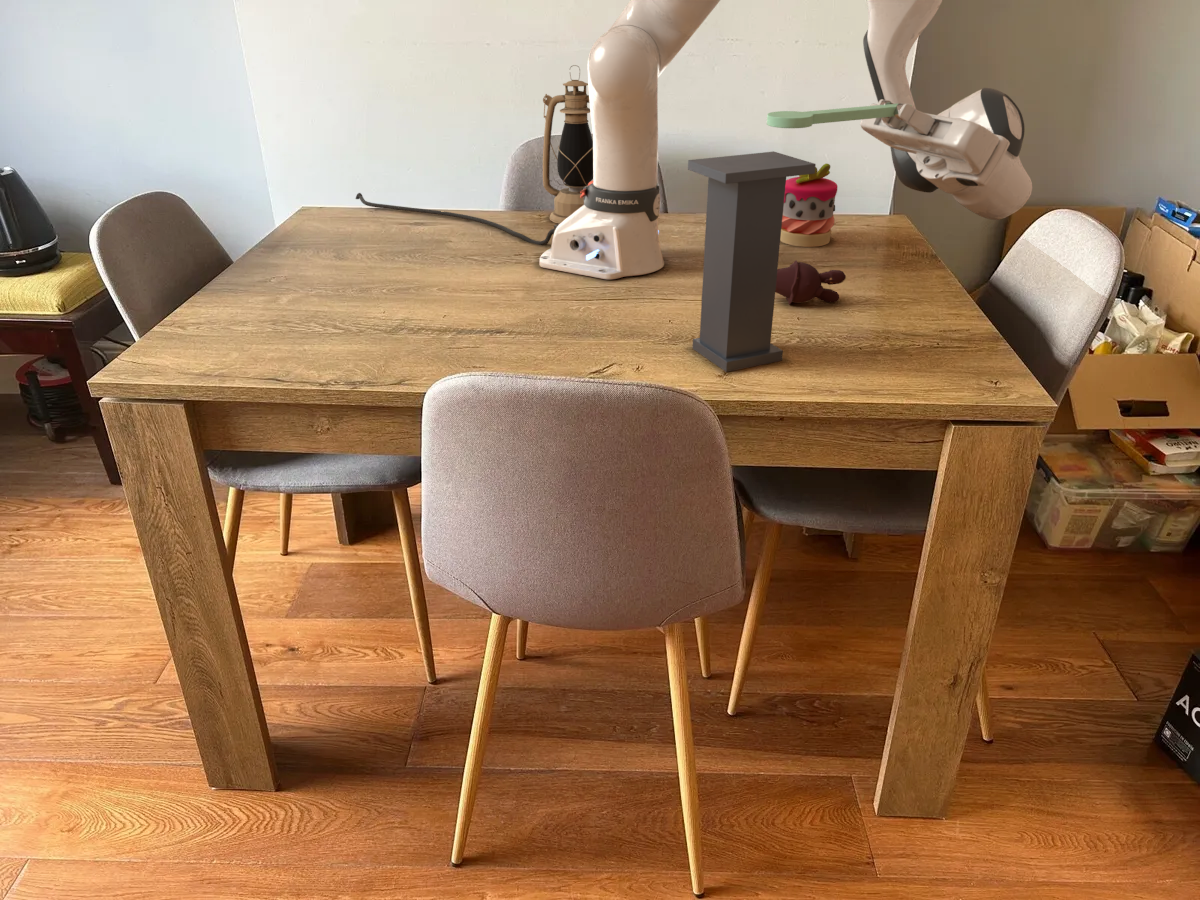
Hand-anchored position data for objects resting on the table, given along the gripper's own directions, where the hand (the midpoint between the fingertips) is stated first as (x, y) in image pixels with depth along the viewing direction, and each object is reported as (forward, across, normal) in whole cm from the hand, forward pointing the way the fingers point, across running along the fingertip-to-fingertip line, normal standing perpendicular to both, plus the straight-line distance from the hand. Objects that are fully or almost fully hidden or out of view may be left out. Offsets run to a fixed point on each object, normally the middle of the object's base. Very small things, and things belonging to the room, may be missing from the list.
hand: (890, 106), depth 115 cm
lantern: (-6, -78, +33) cm, 85 cm away
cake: (-35, -43, +16) cm, 58 cm away
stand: (+3, 0, +38) cm, 38 cm away
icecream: (-15, -14, +28) cm, 35 cm away
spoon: (+6, 0, +4) cm, 7 cm away
